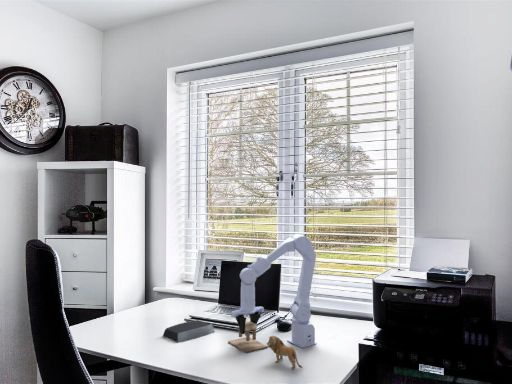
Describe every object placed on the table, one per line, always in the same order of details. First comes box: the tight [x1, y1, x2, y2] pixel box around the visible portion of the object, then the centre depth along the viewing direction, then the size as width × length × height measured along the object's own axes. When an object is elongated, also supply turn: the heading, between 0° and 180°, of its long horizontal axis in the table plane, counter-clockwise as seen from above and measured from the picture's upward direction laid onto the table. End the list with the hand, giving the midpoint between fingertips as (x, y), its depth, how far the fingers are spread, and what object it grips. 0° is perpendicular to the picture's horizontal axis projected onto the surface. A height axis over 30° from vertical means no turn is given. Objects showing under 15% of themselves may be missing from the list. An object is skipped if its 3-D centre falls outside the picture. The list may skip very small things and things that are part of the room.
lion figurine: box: [266, 335, 303, 370], centre depth 155 cm, size 15×5×9 cm, turn 51°
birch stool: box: [238, 319, 258, 341], centre depth 174 cm, size 4×7×6 cm, turn 33°
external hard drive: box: [162, 320, 216, 343], centre depth 188 cm, size 13×19×4 cm
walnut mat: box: [227, 336, 269, 354], centre depth 174 cm, size 14×10×1 cm
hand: (247, 332), depth 174 cm, fingers closed on birch stool, 4 cm apart
